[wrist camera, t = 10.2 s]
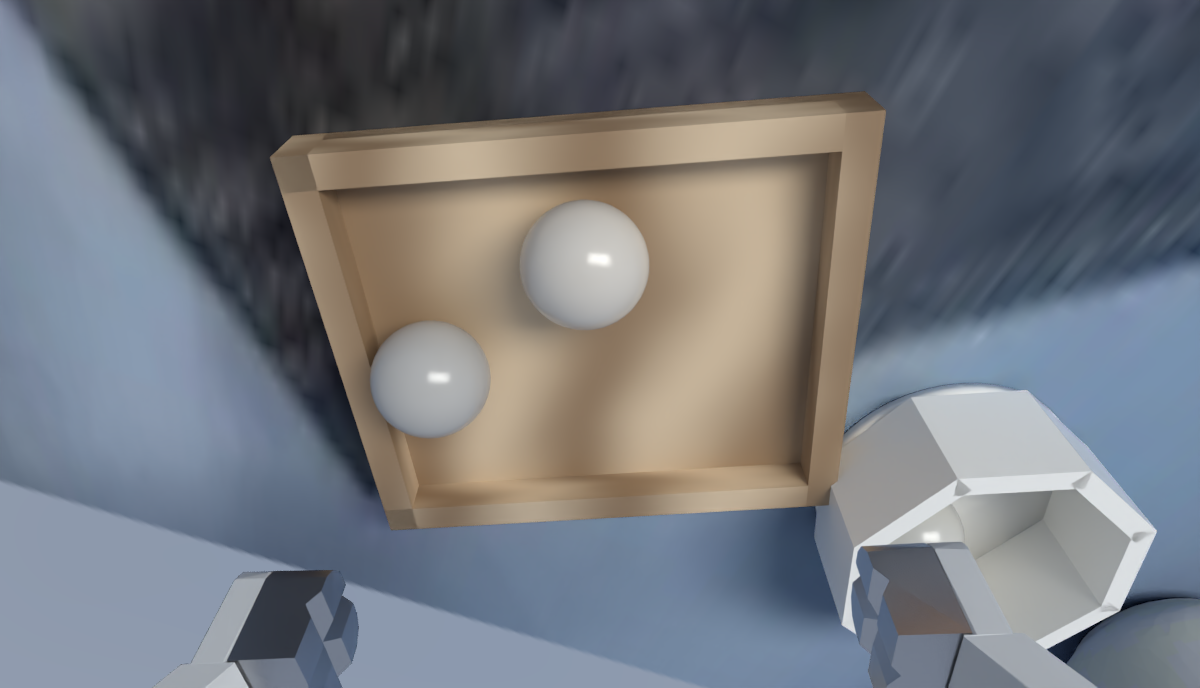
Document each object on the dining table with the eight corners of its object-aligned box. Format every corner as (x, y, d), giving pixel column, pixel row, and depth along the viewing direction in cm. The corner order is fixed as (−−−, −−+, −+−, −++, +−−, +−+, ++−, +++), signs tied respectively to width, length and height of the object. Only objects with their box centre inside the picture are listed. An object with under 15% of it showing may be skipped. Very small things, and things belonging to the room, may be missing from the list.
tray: (401, 495, 29) (390, 530, 27) (293, 135, 21) (270, 157, 20) (821, 470, 28) (834, 504, 27) (864, 91, 21) (885, 110, 19)
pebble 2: (532, 294, 23) (523, 359, 20) (517, 184, 21) (504, 239, 18) (648, 286, 23) (656, 351, 20) (643, 175, 21) (650, 228, 18)
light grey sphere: (900, 517, 30) (829, 554, 29) (914, 448, 28) (839, 485, 27) (977, 581, 27) (902, 625, 26) (998, 509, 25) (919, 553, 24)
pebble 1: (399, 394, 26) (372, 466, 23) (373, 302, 24) (341, 368, 21) (504, 387, 25) (492, 459, 22) (487, 294, 23) (471, 359, 20)
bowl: (805, 571, 31) (834, 672, 28) (824, 391, 26) (864, 484, 22) (1034, 559, 31) (1096, 659, 27) (1100, 374, 26) (1187, 465, 22)
